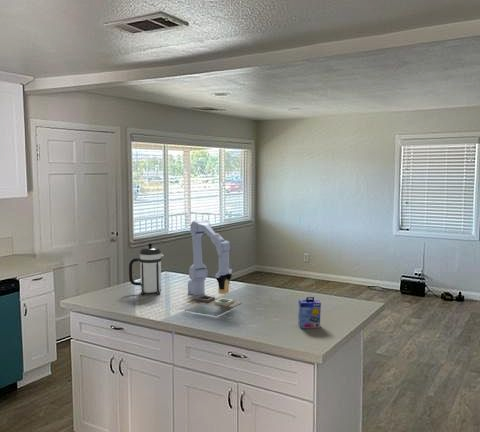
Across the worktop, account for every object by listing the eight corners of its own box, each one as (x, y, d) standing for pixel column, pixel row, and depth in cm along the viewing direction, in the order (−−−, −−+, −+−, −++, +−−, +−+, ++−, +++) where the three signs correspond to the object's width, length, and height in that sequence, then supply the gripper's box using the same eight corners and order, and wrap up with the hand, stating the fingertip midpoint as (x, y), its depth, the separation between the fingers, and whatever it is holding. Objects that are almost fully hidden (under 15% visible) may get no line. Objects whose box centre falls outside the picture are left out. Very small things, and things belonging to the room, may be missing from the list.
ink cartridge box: (299, 328, 222) (300, 298, 221) (297, 324, 228) (297, 294, 226) (320, 328, 223) (321, 297, 222) (318, 324, 229) (318, 294, 227)
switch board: (187, 303, 264) (187, 301, 263) (201, 297, 276) (201, 295, 276) (228, 310, 251) (228, 308, 251) (241, 303, 263) (241, 301, 263)
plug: (218, 293, 259) (218, 279, 258) (222, 291, 263) (222, 277, 262) (224, 294, 257) (224, 279, 256) (228, 292, 261) (228, 278, 260)
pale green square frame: (214, 304, 259) (214, 301, 259) (221, 300, 266) (221, 298, 265) (226, 306, 255) (226, 303, 255) (233, 302, 262) (233, 299, 262)
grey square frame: (195, 301, 265) (195, 298, 265) (203, 297, 271) (203, 295, 271) (207, 302, 261) (207, 300, 261) (214, 299, 268) (214, 296, 268)
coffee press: (152, 288, 297) (152, 240, 294) (168, 292, 286) (168, 243, 283) (128, 293, 285) (127, 243, 282) (144, 298, 274) (143, 246, 271)
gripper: (223, 266, 250) (223, 292, 251) (236, 262, 263) (237, 286, 264) (211, 265, 253) (212, 290, 255) (225, 260, 266) (225, 284, 267)
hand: (224, 288), depth 260 cm, fingers closed on plug, 4 cm apart
